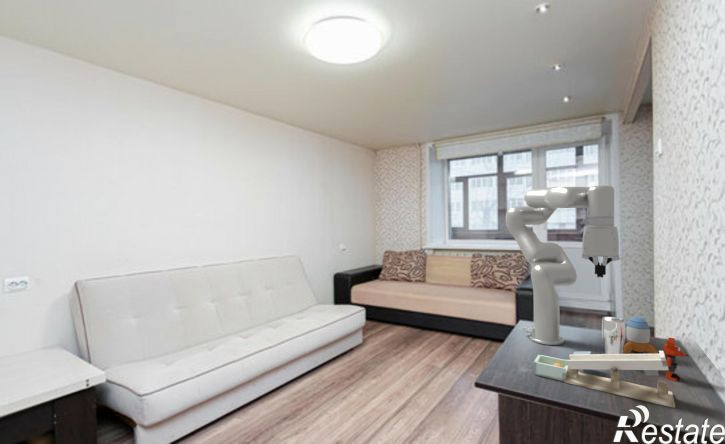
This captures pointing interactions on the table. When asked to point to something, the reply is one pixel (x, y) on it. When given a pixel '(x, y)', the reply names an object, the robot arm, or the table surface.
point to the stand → (622, 387)
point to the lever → (619, 362)
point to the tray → (550, 367)
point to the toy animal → (672, 358)
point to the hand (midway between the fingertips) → (600, 276)
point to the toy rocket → (638, 337)
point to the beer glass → (613, 335)
